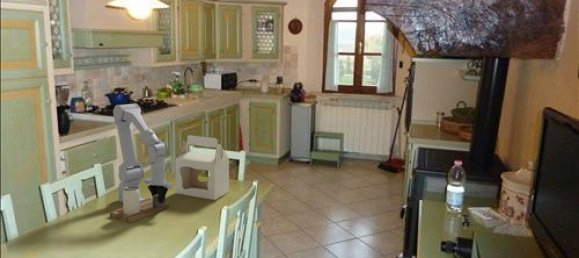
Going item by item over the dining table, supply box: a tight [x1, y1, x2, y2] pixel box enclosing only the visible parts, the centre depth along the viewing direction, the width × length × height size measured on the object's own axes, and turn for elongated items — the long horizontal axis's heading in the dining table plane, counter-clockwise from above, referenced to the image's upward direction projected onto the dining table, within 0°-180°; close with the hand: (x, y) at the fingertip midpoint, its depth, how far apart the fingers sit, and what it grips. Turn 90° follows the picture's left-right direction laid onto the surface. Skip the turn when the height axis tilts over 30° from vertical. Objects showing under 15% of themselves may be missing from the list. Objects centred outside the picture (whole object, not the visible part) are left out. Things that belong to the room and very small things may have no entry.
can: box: [122, 186, 140, 216], centre depth 184 cm, size 6×6×12 cm
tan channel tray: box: [109, 194, 170, 224], centre depth 189 cm, size 12×21×7 cm, turn 150°
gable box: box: [175, 134, 230, 201], centre depth 215 cm, size 22×13×28 cm, turn 68°
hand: (158, 201), depth 192 cm, fingers open, 3 cm apart
